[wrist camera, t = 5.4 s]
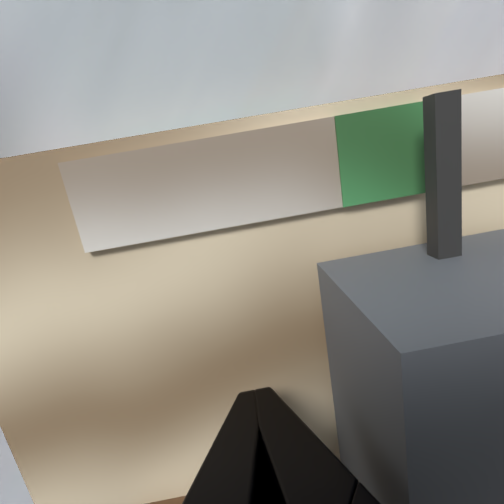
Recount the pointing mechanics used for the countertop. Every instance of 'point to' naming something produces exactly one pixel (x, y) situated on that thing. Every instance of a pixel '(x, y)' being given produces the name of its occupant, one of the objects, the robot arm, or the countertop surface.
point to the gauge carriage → (422, 346)
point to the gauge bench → (201, 278)
